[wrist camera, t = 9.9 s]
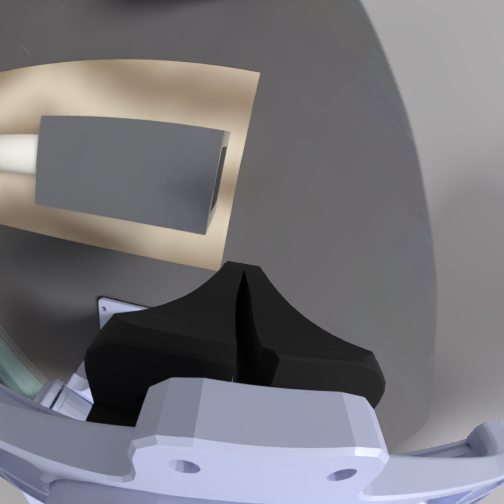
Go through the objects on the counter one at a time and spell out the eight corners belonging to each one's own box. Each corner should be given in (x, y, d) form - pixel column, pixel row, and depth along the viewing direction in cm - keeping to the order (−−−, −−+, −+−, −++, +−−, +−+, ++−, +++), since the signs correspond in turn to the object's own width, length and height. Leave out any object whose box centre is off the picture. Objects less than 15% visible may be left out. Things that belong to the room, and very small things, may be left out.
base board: (220, 265, 23) (219, 271, 22) (-30, 212, 20) (-36, 215, 19) (259, 76, 18) (260, 73, 17) (-22, 79, 15) (-29, 79, 14)
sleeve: (215, 211, 20) (205, 235, 15) (74, 188, 19) (35, 204, 15) (230, 132, 18) (224, 130, 14) (81, 116, 17) (41, 115, 13)
